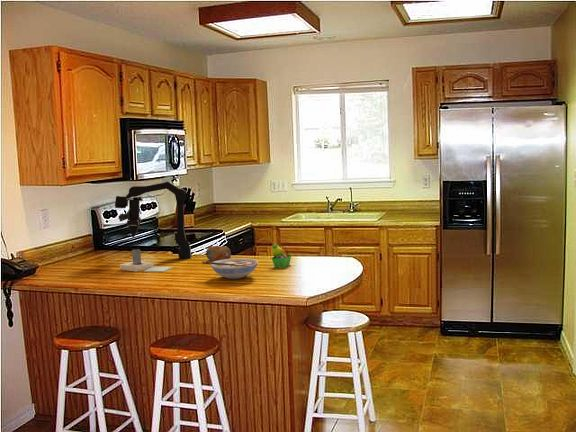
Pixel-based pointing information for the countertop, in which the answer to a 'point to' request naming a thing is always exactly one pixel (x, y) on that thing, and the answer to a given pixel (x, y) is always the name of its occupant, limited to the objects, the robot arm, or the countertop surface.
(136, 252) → the t key
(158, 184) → the robot arm
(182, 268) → the countertop surface
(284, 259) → the fruit basket
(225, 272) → the ramen bowl
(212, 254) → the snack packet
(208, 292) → the countertop surface
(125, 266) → the cover plate
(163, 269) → the key mat
